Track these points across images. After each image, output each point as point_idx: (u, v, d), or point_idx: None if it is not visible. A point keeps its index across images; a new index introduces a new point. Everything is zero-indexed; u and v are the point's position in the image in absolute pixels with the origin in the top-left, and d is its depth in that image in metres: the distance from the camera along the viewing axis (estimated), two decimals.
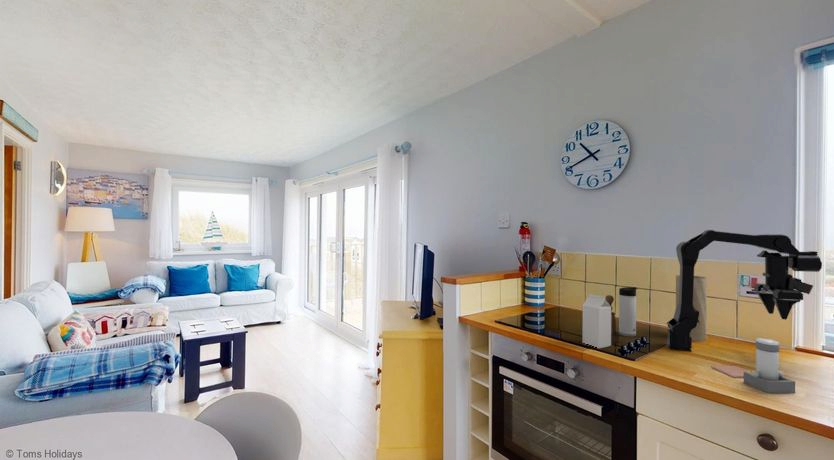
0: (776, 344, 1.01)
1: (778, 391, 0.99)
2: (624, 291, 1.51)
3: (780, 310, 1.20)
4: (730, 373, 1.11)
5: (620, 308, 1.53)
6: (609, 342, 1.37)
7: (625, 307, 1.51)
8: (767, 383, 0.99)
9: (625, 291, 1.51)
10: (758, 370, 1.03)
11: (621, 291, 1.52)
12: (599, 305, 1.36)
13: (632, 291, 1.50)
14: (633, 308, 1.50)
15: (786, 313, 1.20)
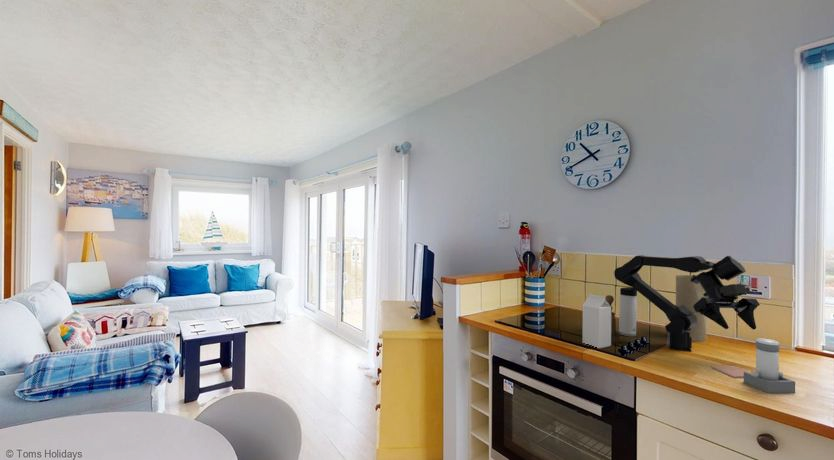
0: (776, 344, 1.01)
1: (778, 391, 0.99)
2: (625, 291, 1.51)
3: (715, 321, 1.19)
4: (730, 373, 1.11)
5: (621, 308, 1.53)
6: (609, 342, 1.37)
7: (625, 307, 1.51)
8: (767, 383, 0.99)
9: (626, 291, 1.51)
10: (758, 370, 1.03)
11: (622, 291, 1.53)
12: (599, 305, 1.36)
13: (633, 291, 1.50)
14: (634, 308, 1.50)
15: (721, 321, 1.17)
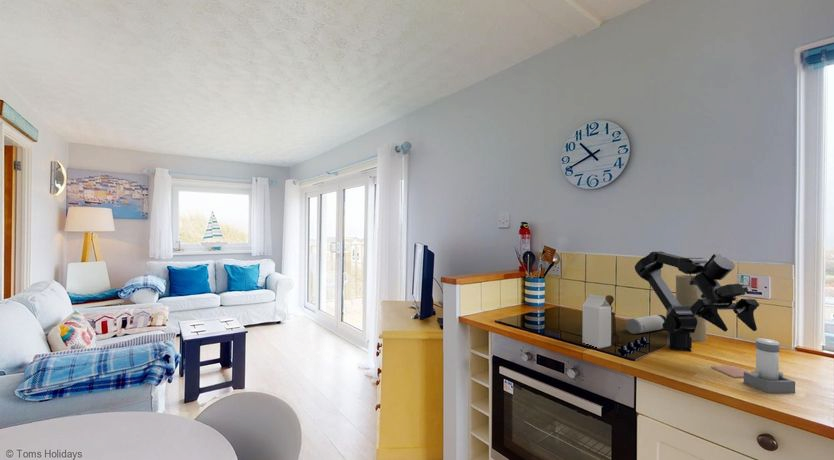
0: (776, 344, 1.01)
1: (778, 391, 0.99)
2: (661, 315, 1.61)
3: (714, 324, 1.14)
4: (730, 373, 1.11)
5: (646, 316, 1.60)
6: (609, 342, 1.37)
7: (652, 317, 1.58)
8: (767, 383, 0.99)
9: (662, 315, 1.61)
10: (758, 370, 1.03)
11: None
12: (599, 305, 1.36)
13: None
14: (657, 323, 1.56)
15: (720, 323, 1.12)
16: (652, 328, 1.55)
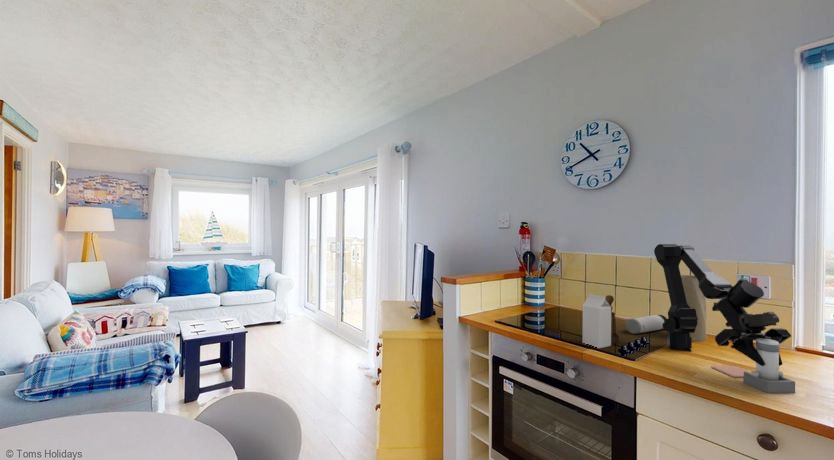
0: (776, 344, 1.01)
1: (778, 391, 0.99)
2: (661, 315, 1.61)
3: (749, 357, 1.04)
4: (730, 373, 1.11)
5: (646, 316, 1.60)
6: (609, 342, 1.37)
7: (652, 317, 1.58)
8: (767, 383, 0.99)
9: (662, 315, 1.61)
10: (758, 370, 1.03)
11: None
12: (599, 305, 1.36)
13: None
14: (657, 323, 1.56)
15: (756, 357, 1.03)
16: (652, 328, 1.55)
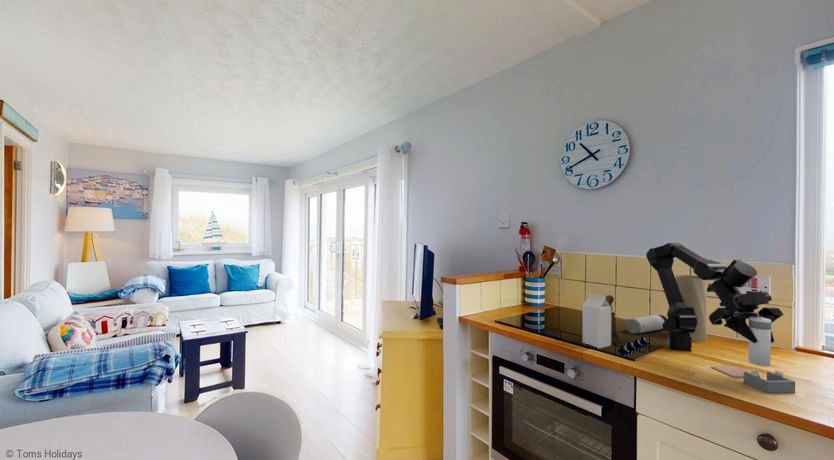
0: (768, 321, 1.03)
1: (778, 391, 0.99)
2: (661, 315, 1.61)
3: (742, 334, 1.07)
4: (730, 373, 1.11)
5: (646, 316, 1.60)
6: (609, 342, 1.37)
7: (652, 317, 1.58)
8: (767, 383, 0.99)
9: (662, 315, 1.61)
10: (750, 347, 1.05)
11: None
12: (599, 305, 1.36)
13: None
14: (657, 323, 1.56)
15: (749, 334, 1.05)
16: (652, 328, 1.55)
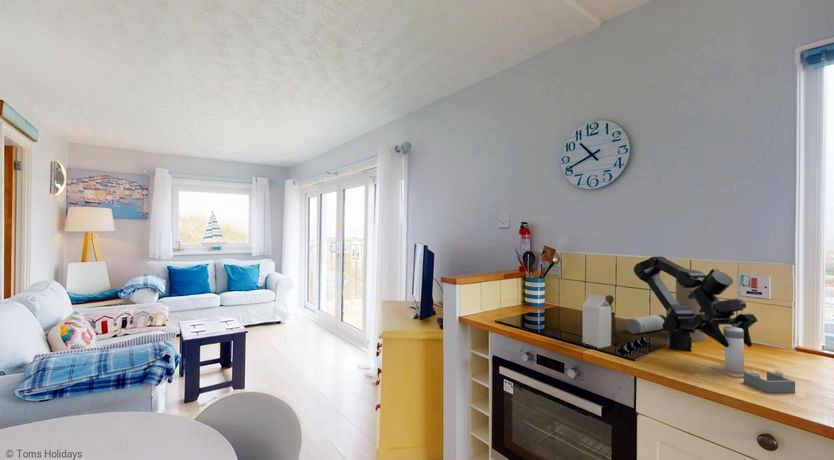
0: (740, 331, 1.11)
1: (778, 391, 0.99)
2: (661, 315, 1.61)
3: (715, 339, 1.14)
4: (730, 373, 1.11)
5: (646, 316, 1.60)
6: (609, 342, 1.37)
7: (652, 317, 1.58)
8: (767, 383, 0.99)
9: (662, 315, 1.61)
10: (726, 355, 1.13)
11: None
12: (599, 305, 1.36)
13: None
14: (657, 323, 1.56)
15: (721, 339, 1.13)
16: (652, 328, 1.55)
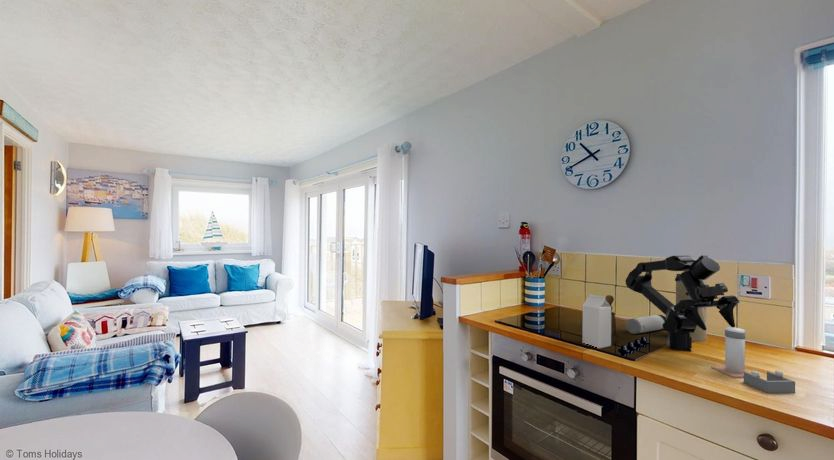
0: (742, 332, 1.11)
1: (778, 391, 0.99)
2: (661, 315, 1.61)
3: (695, 323, 1.23)
4: (730, 373, 1.11)
5: (646, 316, 1.60)
6: (609, 342, 1.37)
7: (652, 317, 1.58)
8: (767, 383, 0.99)
9: (662, 315, 1.61)
10: (726, 356, 1.13)
11: None
12: (599, 305, 1.36)
13: None
14: (657, 323, 1.56)
15: (700, 323, 1.21)
16: (652, 328, 1.55)
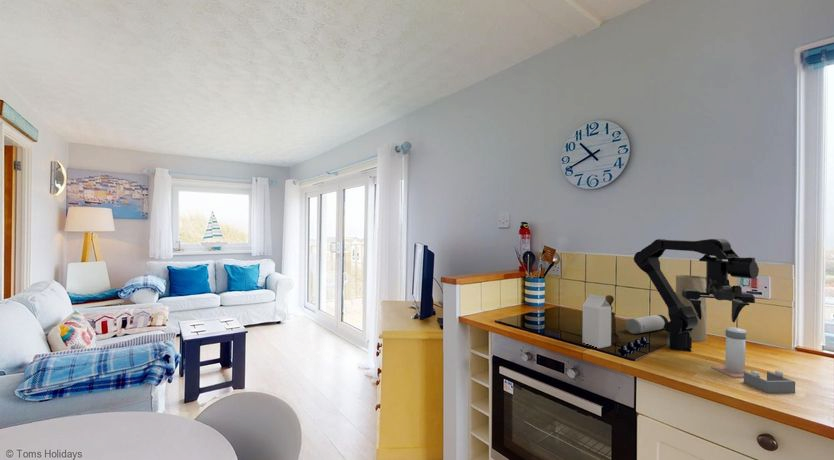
0: (743, 332, 1.10)
1: (778, 391, 0.99)
2: (661, 315, 1.61)
3: (695, 309, 1.28)
4: (730, 373, 1.11)
5: (646, 316, 1.60)
6: (609, 342, 1.37)
7: (652, 317, 1.58)
8: (767, 383, 0.99)
9: (662, 315, 1.61)
10: (727, 356, 1.13)
11: None
12: (599, 305, 1.36)
13: (666, 320, 1.60)
14: (657, 323, 1.56)
15: (697, 313, 1.27)
16: (652, 328, 1.55)
